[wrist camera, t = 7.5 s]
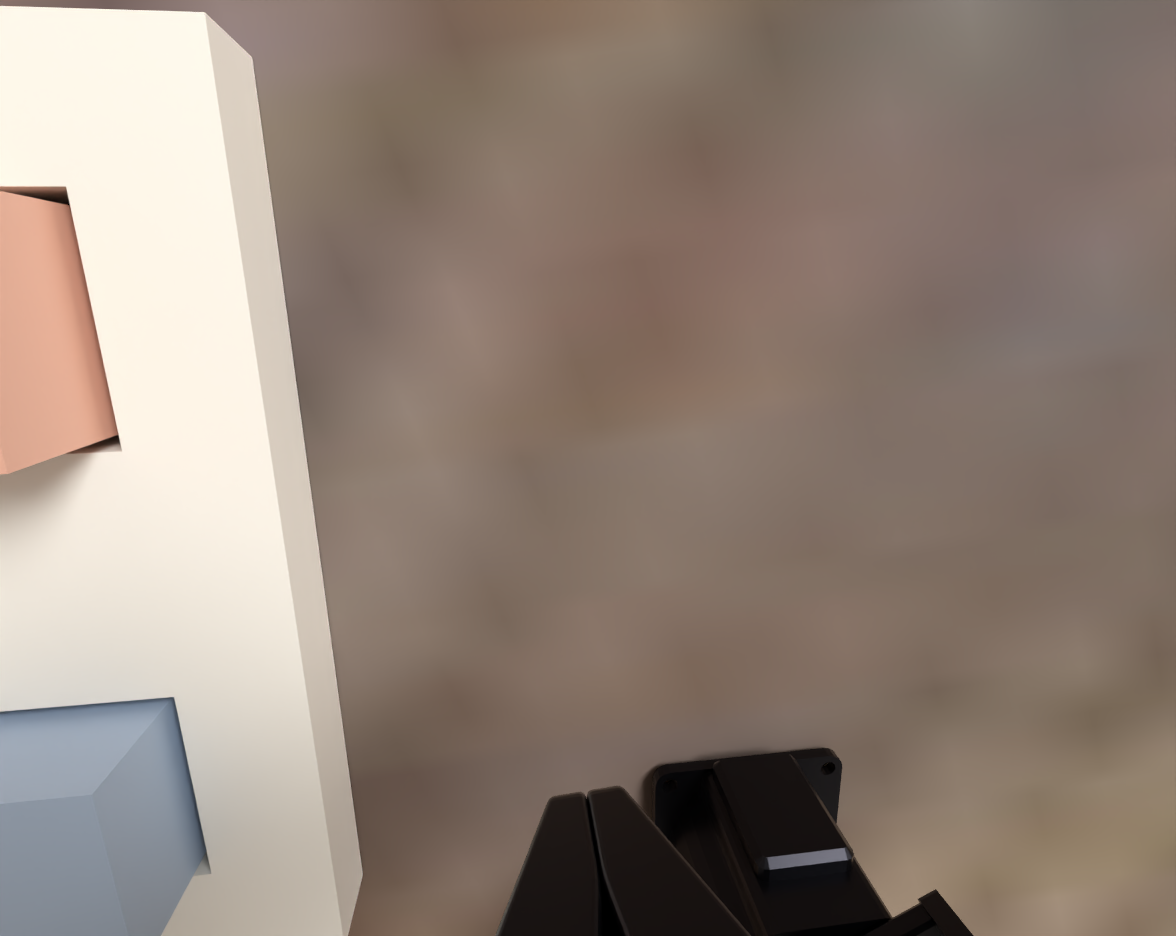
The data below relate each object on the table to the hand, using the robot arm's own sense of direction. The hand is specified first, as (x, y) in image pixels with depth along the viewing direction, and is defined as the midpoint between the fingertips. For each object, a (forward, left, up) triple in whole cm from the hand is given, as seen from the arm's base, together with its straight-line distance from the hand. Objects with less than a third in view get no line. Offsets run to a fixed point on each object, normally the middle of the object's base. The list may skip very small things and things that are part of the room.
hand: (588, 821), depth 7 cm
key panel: (-1, +12, -12) cm, 17 cm away
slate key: (-7, +12, -10) cm, 17 cm away
